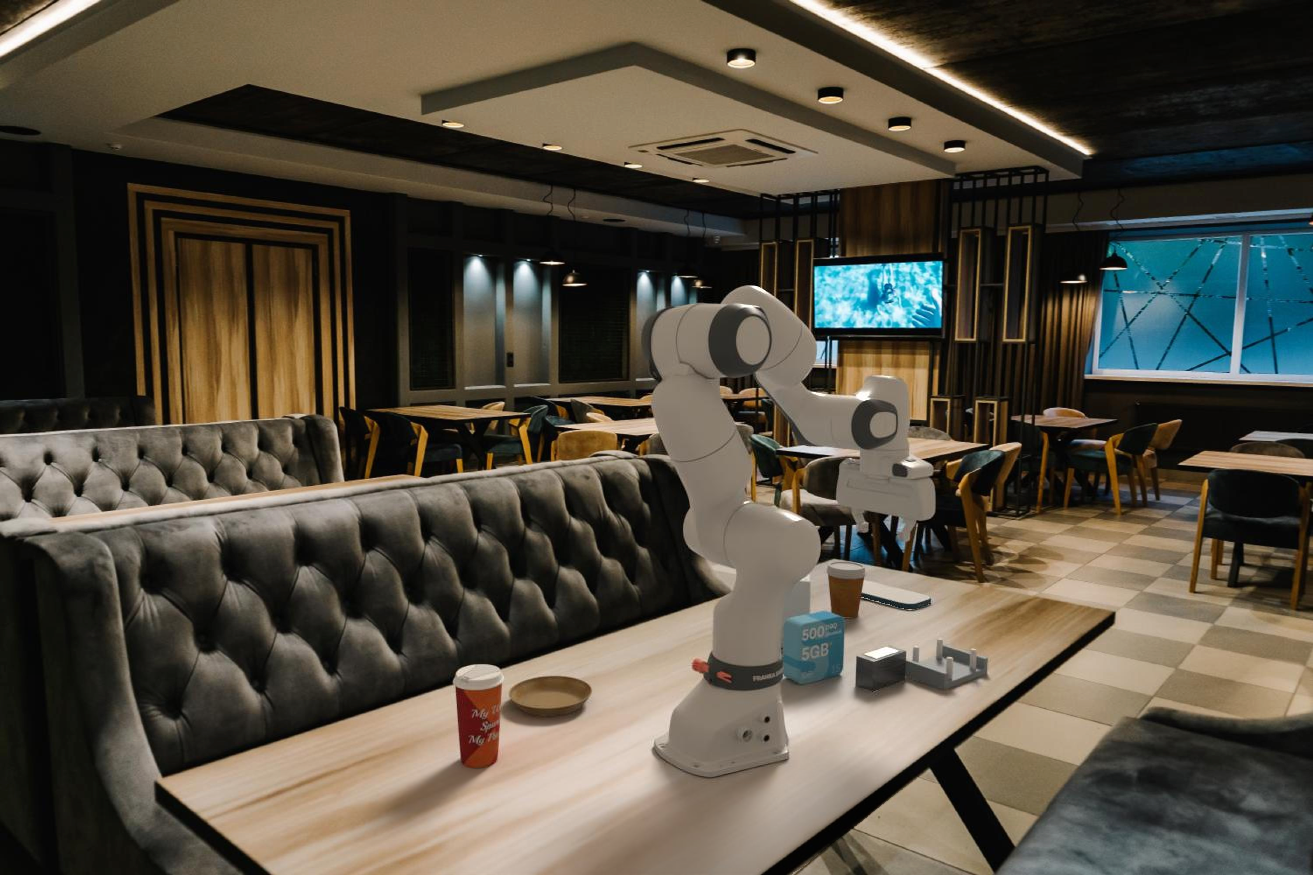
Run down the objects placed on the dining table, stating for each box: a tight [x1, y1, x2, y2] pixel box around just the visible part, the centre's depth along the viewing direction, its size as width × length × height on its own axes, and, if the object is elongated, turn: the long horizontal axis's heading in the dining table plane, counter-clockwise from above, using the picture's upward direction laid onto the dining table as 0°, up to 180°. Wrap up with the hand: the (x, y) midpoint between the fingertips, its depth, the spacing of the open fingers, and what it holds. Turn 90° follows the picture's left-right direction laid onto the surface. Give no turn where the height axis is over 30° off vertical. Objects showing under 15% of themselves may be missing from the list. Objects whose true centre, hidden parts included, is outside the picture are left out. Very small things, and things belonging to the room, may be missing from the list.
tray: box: [905, 638, 989, 691], centre depth 174 cm, size 15×10×5 cm
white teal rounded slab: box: [861, 579, 932, 610], centre depth 228 cm, size 24×12×2 cm, turn 41°
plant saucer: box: [508, 675, 593, 717], centre depth 157 cm, size 15×15×3 cm
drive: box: [854, 645, 907, 693], centre depth 169 cm, size 10×4×6 cm, turn 128°
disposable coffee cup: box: [825, 560, 867, 619], centre depth 212 cm, size 10×10×12 cm
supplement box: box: [781, 572, 812, 649], centre depth 191 cm, size 9×9×15 cm
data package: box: [782, 610, 846, 685], centre depth 171 cm, size 12×4×12 cm, turn 122°
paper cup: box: [452, 663, 505, 769], centre depth 135 cm, size 8×8×14 cm
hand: (882, 536), depth 164 cm, fingers open, 8 cm apart
